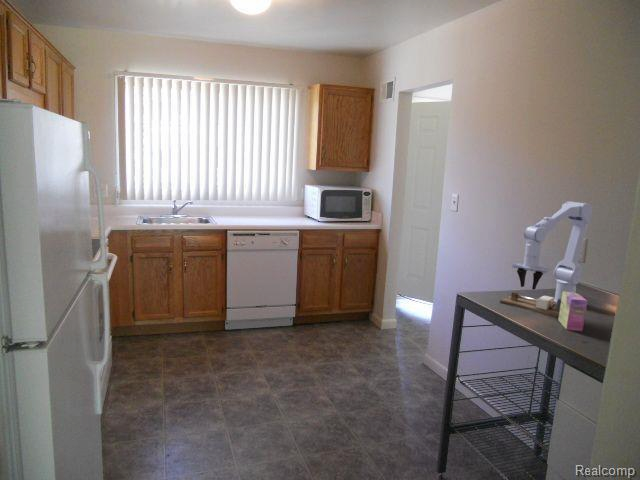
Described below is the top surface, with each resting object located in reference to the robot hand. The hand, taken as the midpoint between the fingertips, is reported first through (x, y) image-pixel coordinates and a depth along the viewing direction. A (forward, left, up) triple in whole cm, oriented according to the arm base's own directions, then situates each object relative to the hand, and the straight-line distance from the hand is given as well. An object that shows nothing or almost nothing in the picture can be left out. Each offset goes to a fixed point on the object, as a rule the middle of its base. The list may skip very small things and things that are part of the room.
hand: (528, 287), depth 197 cm
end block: (-3, +13, -8) cm, 16 cm away
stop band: (-3, +9, -7) cm, 12 cm away
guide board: (-3, +3, -8) cm, 9 cm away
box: (+11, +20, -9) cm, 24 cm away
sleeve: (-3, +6, -7) cm, 10 cm away
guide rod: (-3, +4, -6) cm, 8 cm away
